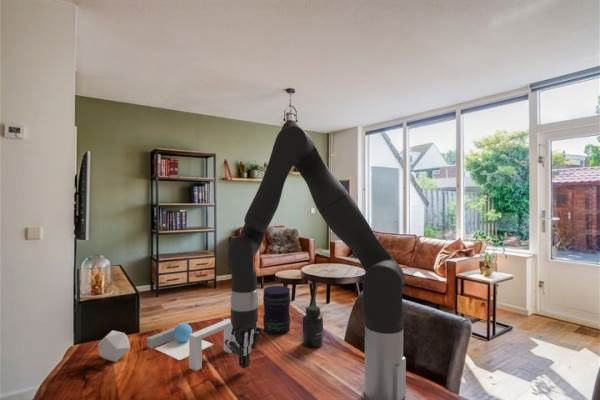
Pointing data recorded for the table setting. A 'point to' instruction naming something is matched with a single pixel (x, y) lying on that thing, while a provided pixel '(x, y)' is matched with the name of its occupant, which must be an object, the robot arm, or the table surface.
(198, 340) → the bridge
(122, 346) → the die
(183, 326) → the ball
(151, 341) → the wall
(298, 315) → the table surface
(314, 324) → the supplement bottle
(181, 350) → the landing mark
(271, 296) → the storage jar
